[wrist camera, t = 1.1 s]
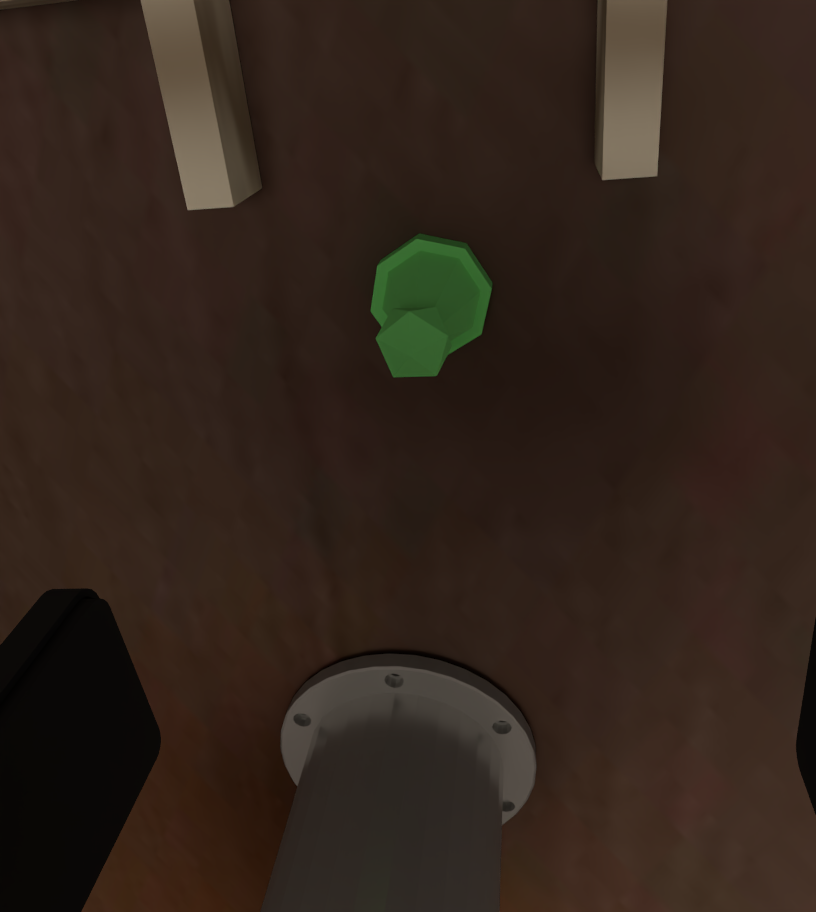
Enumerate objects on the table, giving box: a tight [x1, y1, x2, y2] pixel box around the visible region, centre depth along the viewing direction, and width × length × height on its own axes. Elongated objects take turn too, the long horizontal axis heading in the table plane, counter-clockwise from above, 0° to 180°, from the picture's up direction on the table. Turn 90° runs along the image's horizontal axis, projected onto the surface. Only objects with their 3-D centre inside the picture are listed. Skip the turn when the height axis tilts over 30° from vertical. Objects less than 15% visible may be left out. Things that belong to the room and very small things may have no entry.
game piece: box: [371, 234, 493, 377], centre depth 25 cm, size 4×4×6 cm
